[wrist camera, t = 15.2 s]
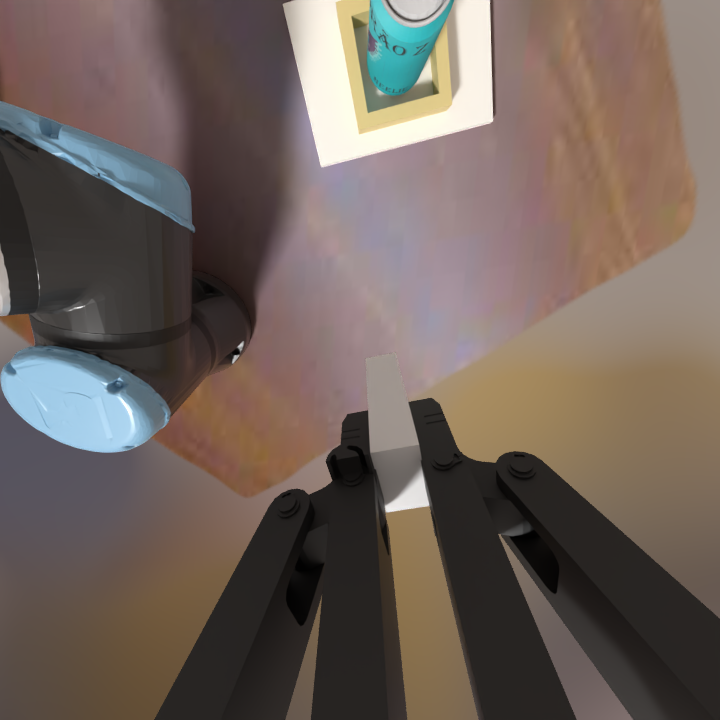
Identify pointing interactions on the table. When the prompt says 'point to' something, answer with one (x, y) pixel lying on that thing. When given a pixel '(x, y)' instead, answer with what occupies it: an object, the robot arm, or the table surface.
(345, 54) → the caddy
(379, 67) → the beverage can
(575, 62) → the table surface
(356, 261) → the table surface
